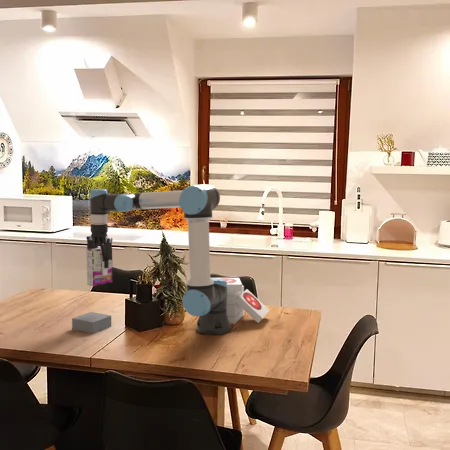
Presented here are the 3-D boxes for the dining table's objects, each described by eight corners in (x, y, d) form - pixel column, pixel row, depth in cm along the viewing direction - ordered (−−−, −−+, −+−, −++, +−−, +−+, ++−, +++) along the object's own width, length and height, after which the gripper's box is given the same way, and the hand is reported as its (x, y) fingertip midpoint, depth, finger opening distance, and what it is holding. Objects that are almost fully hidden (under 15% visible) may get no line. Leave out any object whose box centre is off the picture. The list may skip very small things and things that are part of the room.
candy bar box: (106, 280, 247) (105, 246, 246) (113, 282, 244) (112, 247, 242) (86, 284, 239) (85, 248, 237) (93, 286, 236) (93, 250, 234)
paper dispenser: (261, 327, 240) (262, 288, 238) (199, 321, 249) (199, 283, 247) (270, 316, 258) (271, 280, 256) (211, 310, 267) (212, 275, 265)
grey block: (111, 326, 239) (111, 315, 238) (93, 333, 228) (93, 322, 228) (90, 322, 244) (90, 311, 244) (72, 329, 234) (72, 318, 233)
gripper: (120, 224, 237) (121, 275, 240) (89, 221, 246) (90, 270, 249) (109, 225, 231) (109, 278, 233) (77, 222, 240) (78, 273, 242)
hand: (99, 274), depth 241 cm, fingers closed on candy bar box, 5 cm apart
